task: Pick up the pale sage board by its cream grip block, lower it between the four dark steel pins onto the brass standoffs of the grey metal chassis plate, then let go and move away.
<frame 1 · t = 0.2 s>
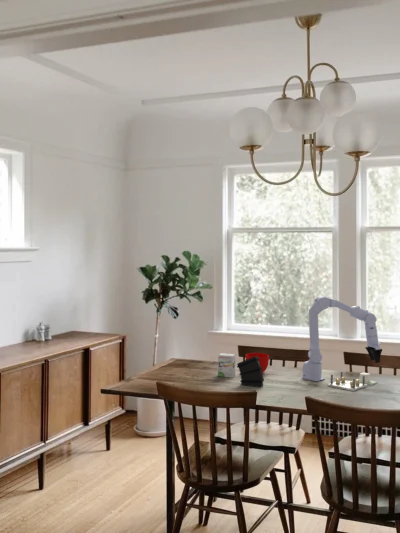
hand: (375, 361, 297), 10 cm above the table, tool pointing down, fingers open, 7 cm apart
ink box: (226, 376, 306), on the table
sage board: (364, 383, 294), on the table
magazine: (250, 385, 286), on the table
chassis plate: (347, 386, 286), on the table
ceramic cup: (258, 372, 316), on the table
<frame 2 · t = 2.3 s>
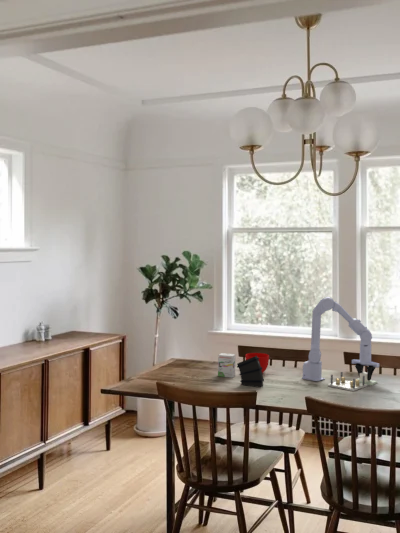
hand: (365, 379, 294), 2 cm above the table, tool pointing down, fingers closed on sage board, 4 cm apart
sage board: (364, 382, 294), on the table, touching gripper
everything else where it was.
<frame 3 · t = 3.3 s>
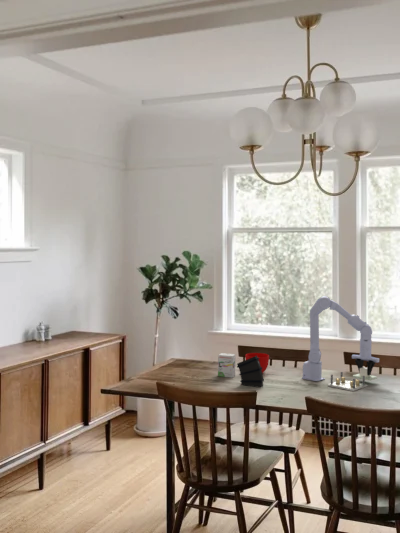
hand: (365, 374, 294), 4 cm above the table, tool pointing down, fingers closed on sage board, 4 cm apart
sage board: (364, 377, 294), point 2 cm above the table, touching gripper
everything else where it was.
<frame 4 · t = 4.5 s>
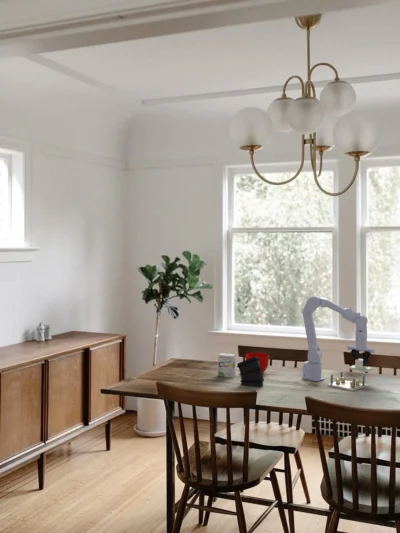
hand: (360, 365, 292), 9 cm above the table, tool pointing down, fingers closed on sage board, 4 cm apart
sage board: (360, 369, 292), point 7 cm above the table, touching gripper
everything else where it was.
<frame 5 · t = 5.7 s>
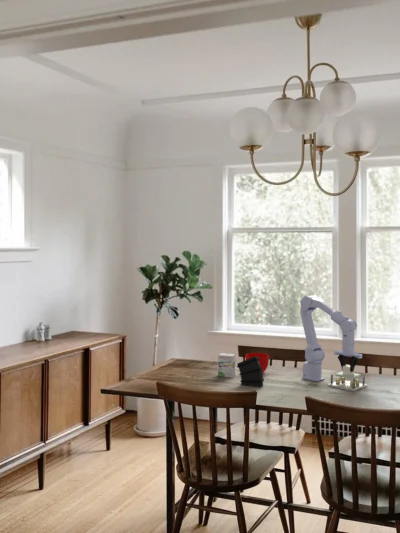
hand: (347, 370, 285), 8 cm above the table, tool pointing down, fingers closed on sage board, 4 cm apart
sage board: (348, 375, 286), point 5 cm above the table, touching gripper
everything else where it was.
when the fingers open (6 cm above the table, at t = 6.5 s): sage board stays where it is, resting on chassis plate.
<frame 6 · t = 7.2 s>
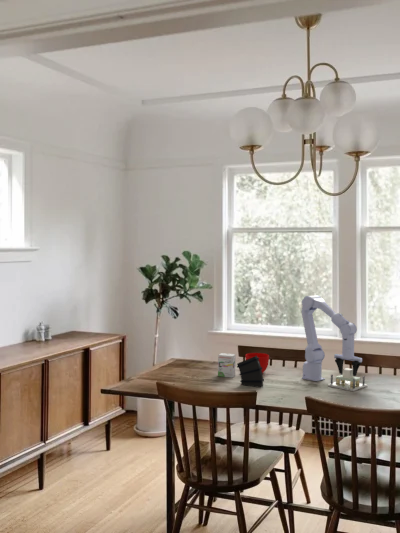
hand: (347, 374, 286), 6 cm above the table, tool pointing down, fingers open, 7 cm apart
sage board: (348, 379, 286), point 3 cm above the table, touching chassis plate
everything else where it was.
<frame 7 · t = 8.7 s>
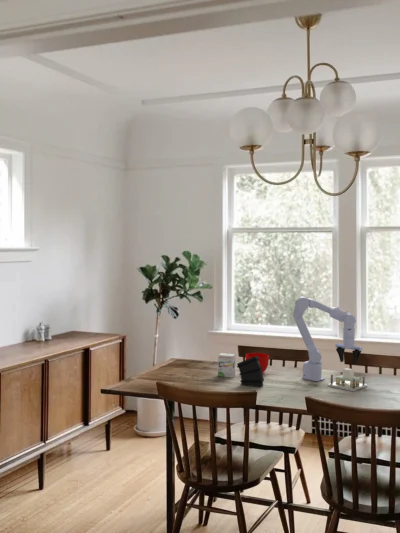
hand: (348, 362, 297), 9 cm above the table, tool pointing down, fingers open, 7 cm apart
nothing on the table moved.
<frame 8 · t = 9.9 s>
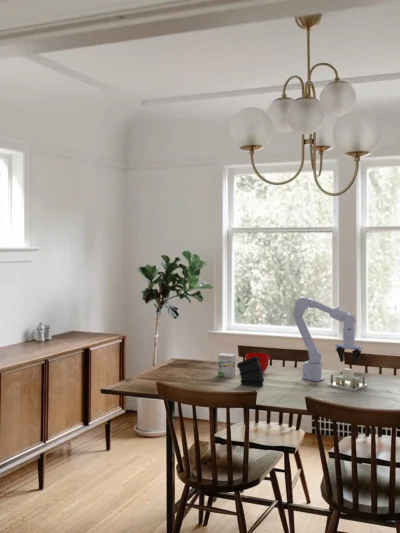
hand: (348, 362, 297), 9 cm above the table, tool pointing down, fingers open, 7 cm apart
nothing on the table moved.
at the end: sage board 0.5 cm off-centre on the chassis plate, point 3.5 cm above the chassis plate's base; sage board tilted 0°; the gripper is holding nothing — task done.
